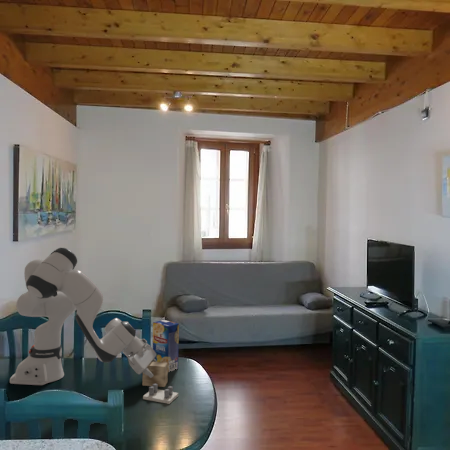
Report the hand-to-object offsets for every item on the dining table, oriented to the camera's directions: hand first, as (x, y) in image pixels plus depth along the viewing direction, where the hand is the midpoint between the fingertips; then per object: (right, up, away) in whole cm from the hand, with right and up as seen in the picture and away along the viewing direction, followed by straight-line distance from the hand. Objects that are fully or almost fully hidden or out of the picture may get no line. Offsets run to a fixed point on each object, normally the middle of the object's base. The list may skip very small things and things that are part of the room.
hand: (155, 372), depth 189 cm
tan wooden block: (0, -5, +1) cm, 5 cm away
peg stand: (+4, -6, -13) cm, 15 cm away
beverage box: (+1, -5, +20) cm, 21 cm away
